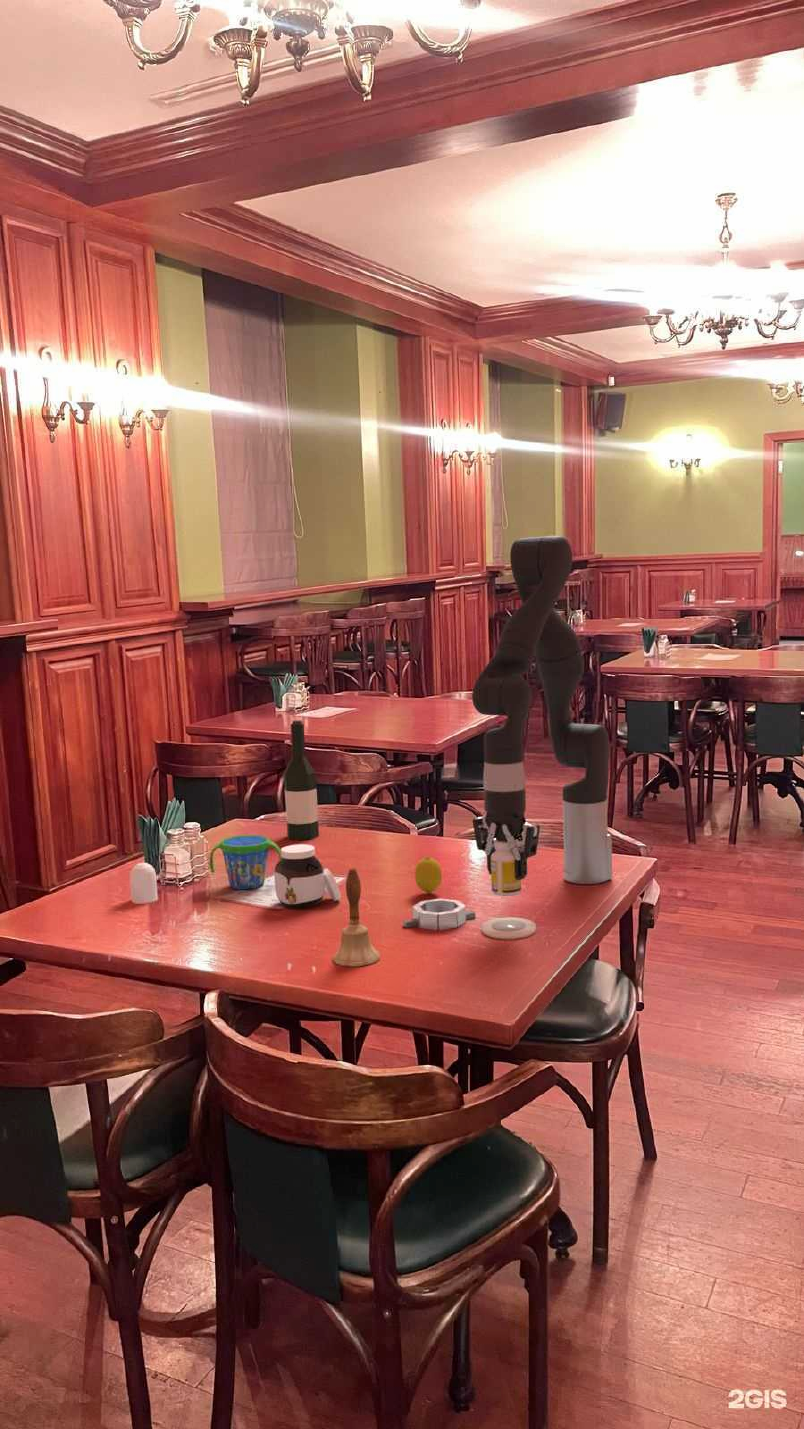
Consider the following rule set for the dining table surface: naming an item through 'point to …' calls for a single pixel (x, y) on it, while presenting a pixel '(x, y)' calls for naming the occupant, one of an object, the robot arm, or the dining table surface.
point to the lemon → (428, 875)
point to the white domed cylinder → (143, 884)
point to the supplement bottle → (504, 870)
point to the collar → (439, 914)
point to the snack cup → (245, 859)
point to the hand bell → (355, 931)
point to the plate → (508, 928)
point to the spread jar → (302, 878)
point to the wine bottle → (300, 790)
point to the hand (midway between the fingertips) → (507, 875)
